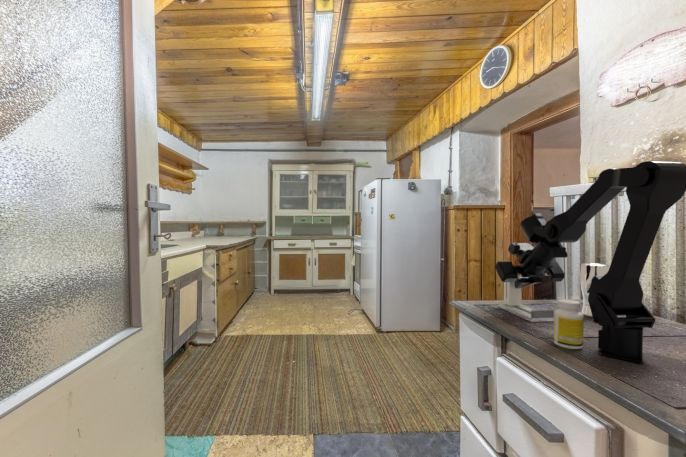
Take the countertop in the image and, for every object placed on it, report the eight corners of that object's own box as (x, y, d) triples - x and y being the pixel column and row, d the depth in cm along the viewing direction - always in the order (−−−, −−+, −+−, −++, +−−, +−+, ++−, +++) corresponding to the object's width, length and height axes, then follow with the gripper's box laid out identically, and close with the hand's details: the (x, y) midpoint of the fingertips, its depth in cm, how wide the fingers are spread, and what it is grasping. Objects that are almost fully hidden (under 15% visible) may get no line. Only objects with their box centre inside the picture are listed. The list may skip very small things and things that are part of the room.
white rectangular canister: (521, 305, 101) (522, 270, 101) (509, 305, 101) (509, 271, 101) (515, 303, 104) (516, 269, 104) (503, 303, 104) (504, 269, 104)
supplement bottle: (589, 350, 69) (590, 304, 69) (563, 349, 69) (564, 304, 69) (571, 340, 75) (572, 298, 74) (548, 340, 75) (548, 298, 74)
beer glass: (585, 317, 93) (586, 265, 93) (575, 311, 100) (576, 262, 100) (614, 319, 91) (615, 266, 91) (602, 313, 98) (603, 263, 98)
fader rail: (555, 321, 89) (555, 310, 89) (531, 321, 89) (531, 311, 88) (519, 306, 105) (519, 297, 105) (498, 307, 104) (498, 297, 104)
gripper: (558, 234, 96) (532, 266, 107) (498, 233, 94) (478, 266, 105) (579, 264, 88) (549, 295, 99) (515, 264, 86) (491, 296, 98)
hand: (516, 287), depth 101 cm, fingers closed, pressing on white rectangular canister
